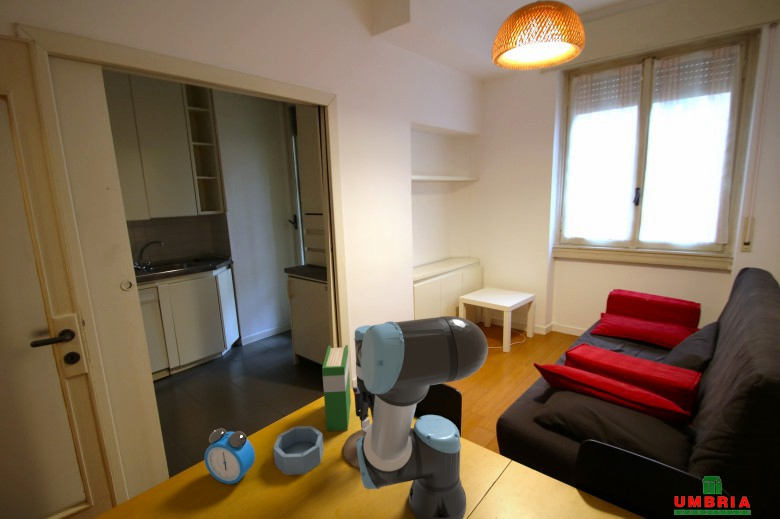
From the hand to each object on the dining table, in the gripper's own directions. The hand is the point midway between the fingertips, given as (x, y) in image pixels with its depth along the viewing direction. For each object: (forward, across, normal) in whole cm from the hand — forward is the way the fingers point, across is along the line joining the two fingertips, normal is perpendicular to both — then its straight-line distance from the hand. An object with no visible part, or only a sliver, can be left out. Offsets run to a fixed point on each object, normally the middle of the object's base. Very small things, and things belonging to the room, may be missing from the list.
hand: (371, 441), depth 117 cm
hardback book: (+3, +22, -4) cm, 22 cm away
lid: (+3, 0, 0) cm, 3 cm away
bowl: (+3, +14, +18) cm, 23 cm away
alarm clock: (+3, +22, +36) cm, 42 cm away
